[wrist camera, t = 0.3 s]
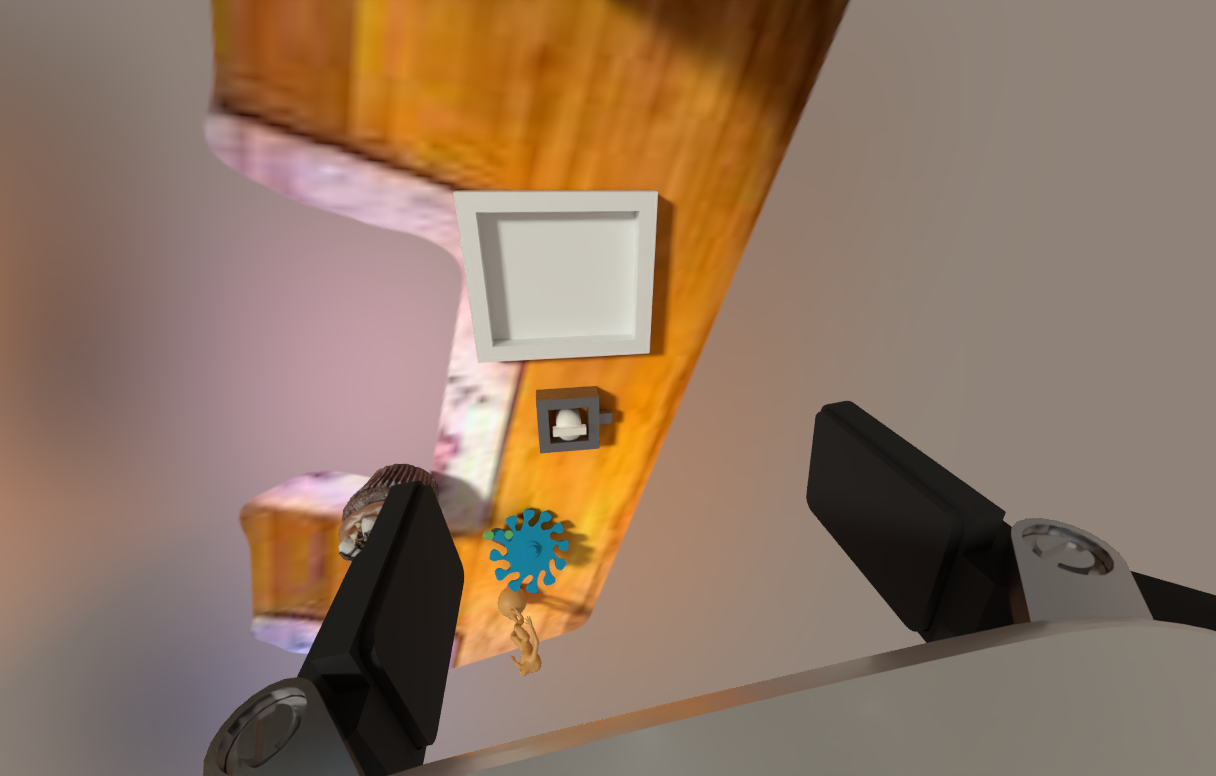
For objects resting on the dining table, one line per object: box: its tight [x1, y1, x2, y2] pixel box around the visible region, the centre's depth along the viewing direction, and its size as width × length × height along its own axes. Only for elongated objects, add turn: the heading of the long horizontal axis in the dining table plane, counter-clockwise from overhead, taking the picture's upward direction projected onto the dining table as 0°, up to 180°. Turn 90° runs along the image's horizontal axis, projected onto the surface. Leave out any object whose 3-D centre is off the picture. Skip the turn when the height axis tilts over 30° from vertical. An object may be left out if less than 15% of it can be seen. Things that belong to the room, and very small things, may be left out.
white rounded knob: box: [553, 408, 586, 440], centre depth 49 cm, size 3×4×4 cm
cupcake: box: [339, 464, 438, 562], centre depth 48 cm, size 10×10×10 cm
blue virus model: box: [483, 509, 569, 593], centre depth 56 cm, size 11×6×10 cm
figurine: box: [498, 587, 541, 676], centre depth 58 cm, size 8×6×12 cm
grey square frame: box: [536, 386, 612, 453], centre depth 50 cm, size 7×8×3 cm
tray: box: [453, 190, 658, 363], centre depth 42 cm, size 16×18×2 cm
